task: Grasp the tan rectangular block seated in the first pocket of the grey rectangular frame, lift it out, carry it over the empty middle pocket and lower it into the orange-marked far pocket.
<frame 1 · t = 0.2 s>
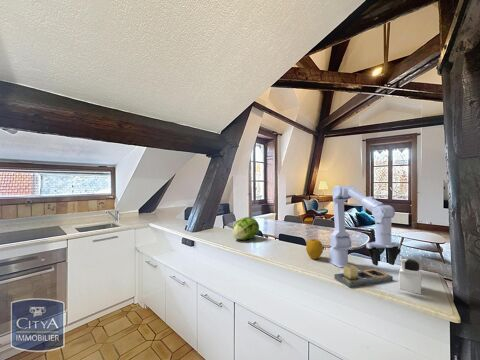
hand: (383, 264, 90), 10 cm above the countertop, fingers open, 7 cm apart
medicine bottle: (410, 289, 89), on the countertop
tan rectangular block: (350, 281, 95), resting in grey rectangular frame
grey rectangular frame: (363, 279, 97), on the countertop
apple: (314, 258, 124), on the countertop
lettuce: (245, 239, 167), on the countertop
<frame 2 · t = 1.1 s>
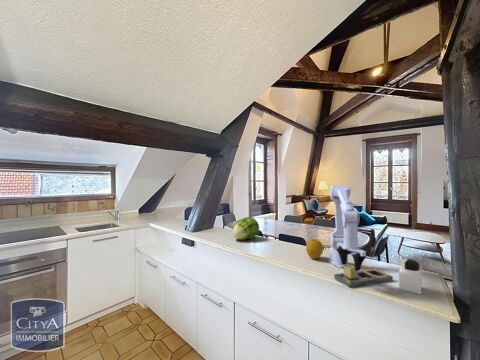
hand: (350, 267, 95), 7 cm above the countertop, fingers open, 7 cm apart
nothing on the countertop moved.
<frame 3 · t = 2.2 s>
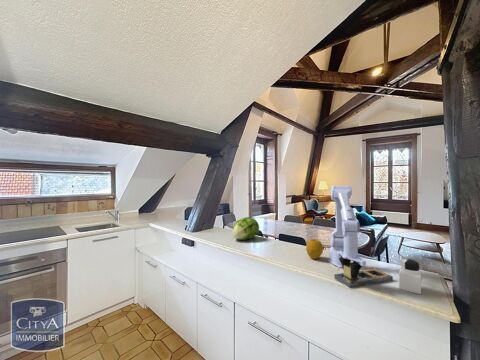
hand: (350, 275, 95), 3 cm above the countertop, fingers closed on tan rectangular block, 4 cm apart
tan rectangular block: (350, 281, 95), resting in grey rectangular frame, touching gripper
everything else where it was.
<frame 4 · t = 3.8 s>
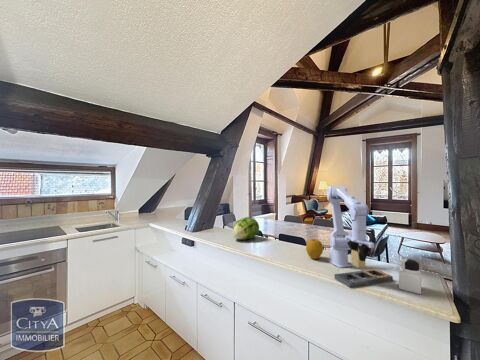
hand: (358, 259, 96), 10 cm above the countertop, fingers closed on tan rectangular block, 4 cm apart
tan rectangular block: (358, 265, 96), point 7 cm above the countertop, touching gripper
everything else where it was.
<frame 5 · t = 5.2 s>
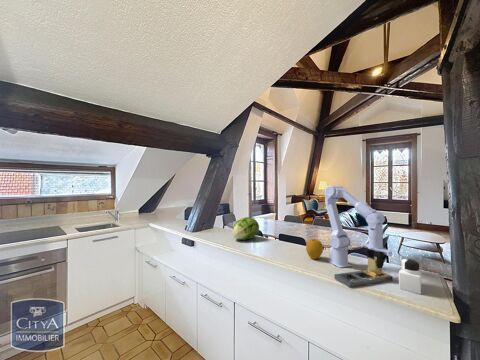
hand: (375, 266, 99), 6 cm above the countertop, fingers closed on tan rectangular block, 4 cm apart
tan rectangular block: (374, 273, 99), point 2 cm above the countertop, touching gripper
everything else where it was.
when the fingers open (4 cm above the countertop, at t = 6.0 s): tan rectangular block stays where it is, resting in grey rectangular frame.
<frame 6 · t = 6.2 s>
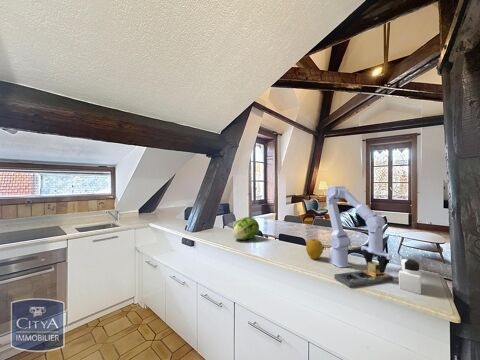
hand: (375, 269, 99), 4 cm above the countertop, fingers open, 6 cm apart
tan rectangular block: (374, 277, 99), resting in grey rectangular frame
everything else where it was.
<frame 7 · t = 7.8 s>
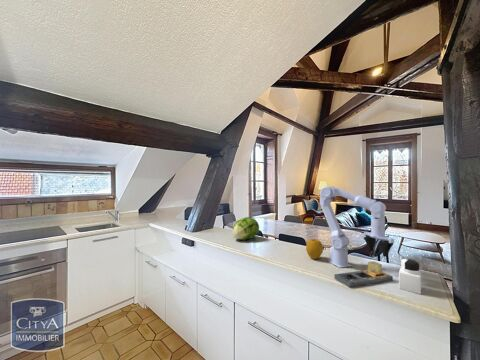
hand: (378, 253, 102), 10 cm above the countertop, fingers open, 7 cm apart
nothing on the countertop moved.
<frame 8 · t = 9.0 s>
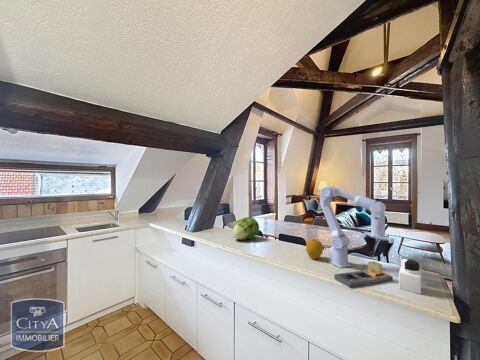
hand: (378, 253, 102), 10 cm above the countertop, fingers open, 7 cm apart
nothing on the countertop moved.
at the end: tan rectangular block 0.5 cm from the target spot on the grey rectangular frame, point 0.0 cm above the grey rectangular frame's base; tan rectangular block tilted 0°; the gripper is holding nothing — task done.
